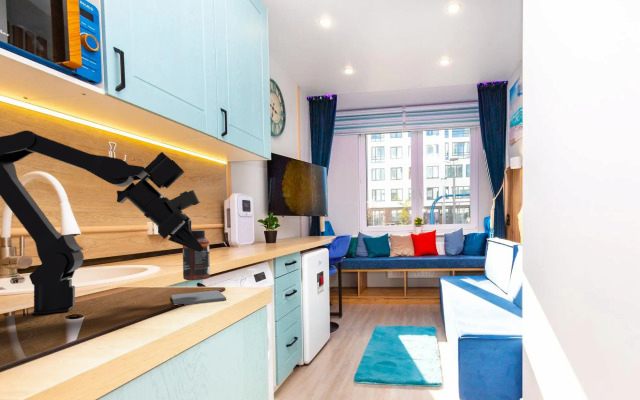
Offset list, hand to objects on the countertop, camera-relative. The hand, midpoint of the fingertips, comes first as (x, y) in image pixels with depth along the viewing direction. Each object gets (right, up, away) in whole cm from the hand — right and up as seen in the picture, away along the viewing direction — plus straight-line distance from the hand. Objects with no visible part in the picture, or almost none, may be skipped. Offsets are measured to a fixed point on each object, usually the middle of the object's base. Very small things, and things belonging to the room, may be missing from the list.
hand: (202, 249), depth 92 cm
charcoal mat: (-1, -11, -1) cm, 11 cm away
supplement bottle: (-1, -7, -1) cm, 7 cm away
